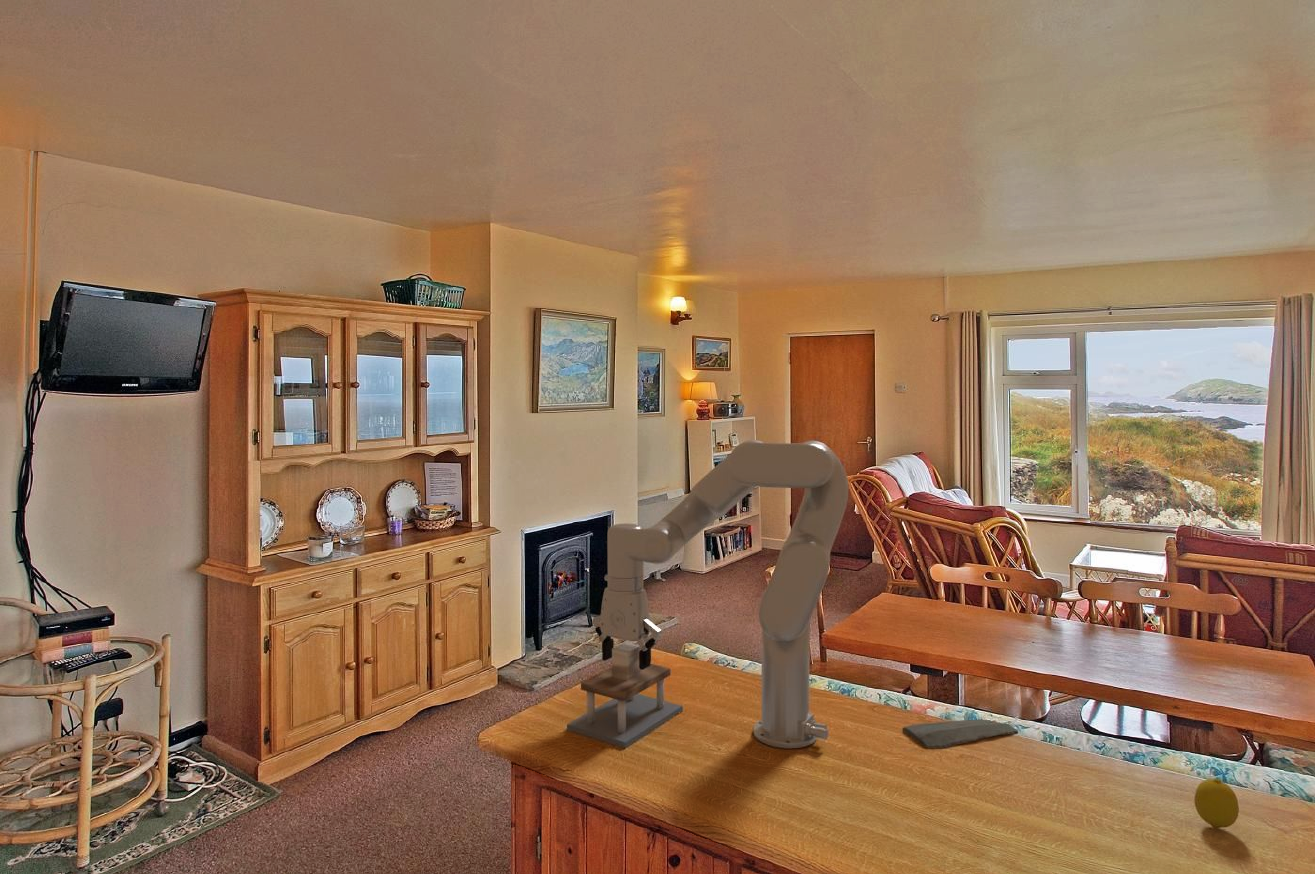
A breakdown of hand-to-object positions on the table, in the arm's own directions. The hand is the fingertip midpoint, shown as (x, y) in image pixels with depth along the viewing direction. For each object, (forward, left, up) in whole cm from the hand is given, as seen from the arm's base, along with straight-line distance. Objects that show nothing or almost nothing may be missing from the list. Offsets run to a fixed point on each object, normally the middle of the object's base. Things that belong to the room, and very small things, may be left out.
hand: (626, 663), depth 156 cm
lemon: (-101, -19, -12) cm, 104 cm away
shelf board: (0, 0, -4) cm, 4 cm away
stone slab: (-60, -33, -13) cm, 70 cm away
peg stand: (0, 0, -12) cm, 12 cm away
